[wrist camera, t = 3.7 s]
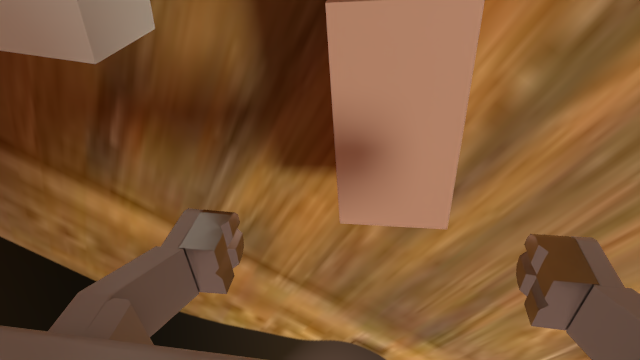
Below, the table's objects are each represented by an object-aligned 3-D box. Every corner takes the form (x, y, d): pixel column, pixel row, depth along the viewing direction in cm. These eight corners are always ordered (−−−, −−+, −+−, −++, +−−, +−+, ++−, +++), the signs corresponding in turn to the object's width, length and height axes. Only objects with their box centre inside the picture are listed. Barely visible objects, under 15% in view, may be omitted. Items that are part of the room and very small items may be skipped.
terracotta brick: (464, -33, 16) (485, -5, 12) (438, 167, 22) (446, 229, 18) (343, -26, 17) (325, 2, 13) (350, 164, 23) (339, 223, 19)
